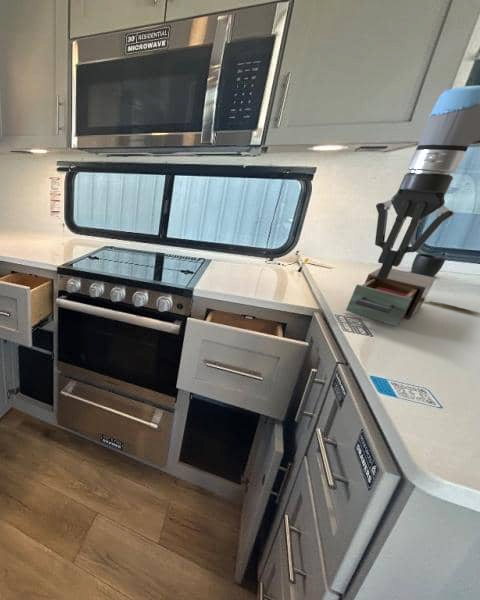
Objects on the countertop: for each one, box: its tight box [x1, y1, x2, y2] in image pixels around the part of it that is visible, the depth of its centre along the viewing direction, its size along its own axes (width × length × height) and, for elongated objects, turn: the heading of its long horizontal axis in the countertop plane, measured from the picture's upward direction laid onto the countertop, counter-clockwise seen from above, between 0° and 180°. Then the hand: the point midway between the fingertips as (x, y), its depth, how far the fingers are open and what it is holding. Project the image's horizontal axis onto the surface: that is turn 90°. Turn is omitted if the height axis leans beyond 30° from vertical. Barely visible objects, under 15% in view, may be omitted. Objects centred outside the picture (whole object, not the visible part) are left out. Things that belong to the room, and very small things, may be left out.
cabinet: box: [364, 267, 437, 320], centre depth 100 cm, size 17×13×10 cm
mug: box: [410, 253, 447, 278], centre depth 131 cm, size 8×12×10 cm
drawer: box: [345, 278, 419, 328], centre depth 91 cm, size 21×11×8 cm, turn 128°
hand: (381, 277), depth 79 cm, fingers closed
